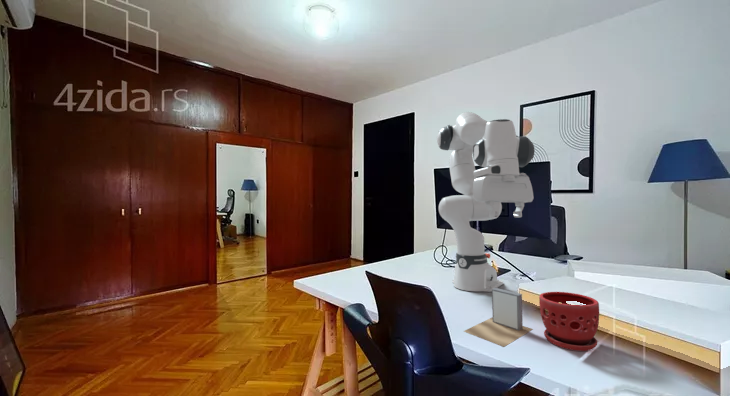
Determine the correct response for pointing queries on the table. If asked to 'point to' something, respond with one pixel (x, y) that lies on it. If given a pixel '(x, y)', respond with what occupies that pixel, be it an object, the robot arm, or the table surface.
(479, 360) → the table surface
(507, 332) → the cork mat
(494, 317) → the tile
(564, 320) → the plant pot
